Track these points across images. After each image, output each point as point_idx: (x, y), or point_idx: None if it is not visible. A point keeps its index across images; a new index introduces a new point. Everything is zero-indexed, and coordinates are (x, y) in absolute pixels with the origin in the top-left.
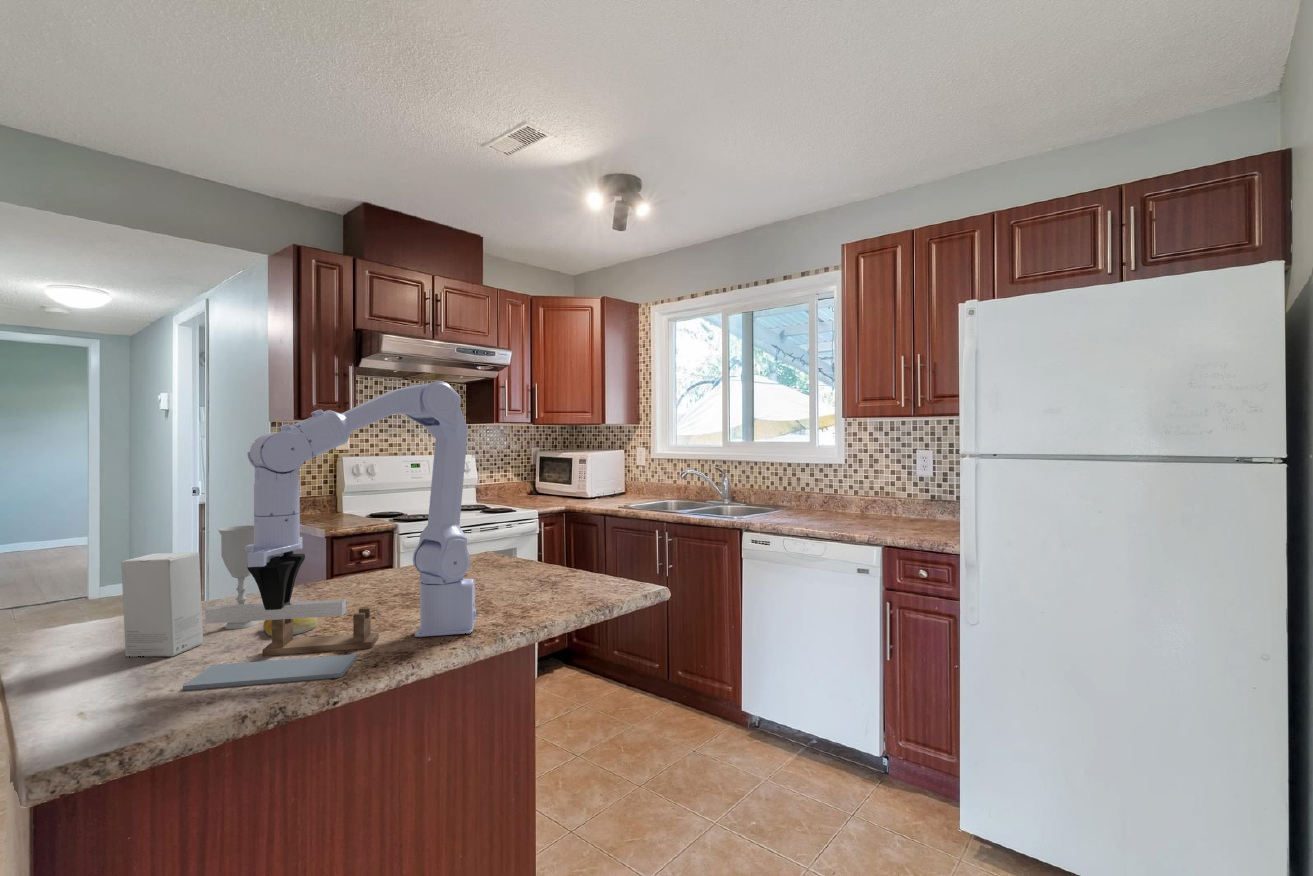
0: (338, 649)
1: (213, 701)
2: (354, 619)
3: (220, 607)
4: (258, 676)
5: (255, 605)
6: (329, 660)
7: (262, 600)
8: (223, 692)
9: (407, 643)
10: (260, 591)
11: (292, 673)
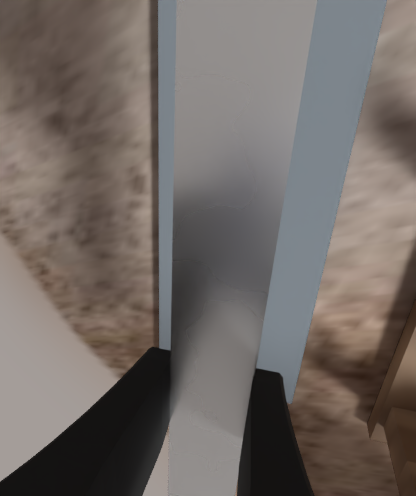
0: (392, 363)
1: (64, 127)
2: (411, 479)
3: (226, 66)
4: None
5: (212, 305)
6: (263, 352)
7: (121, 380)
8: (122, 130)
9: (364, 482)
10: (67, 430)
11: None
